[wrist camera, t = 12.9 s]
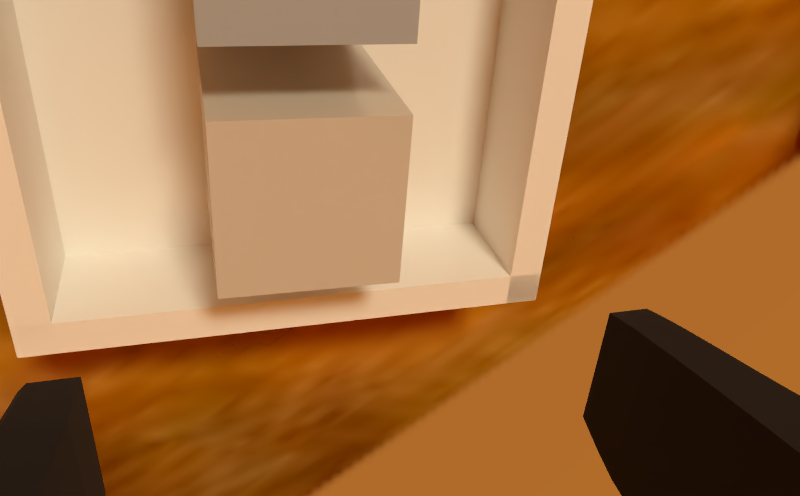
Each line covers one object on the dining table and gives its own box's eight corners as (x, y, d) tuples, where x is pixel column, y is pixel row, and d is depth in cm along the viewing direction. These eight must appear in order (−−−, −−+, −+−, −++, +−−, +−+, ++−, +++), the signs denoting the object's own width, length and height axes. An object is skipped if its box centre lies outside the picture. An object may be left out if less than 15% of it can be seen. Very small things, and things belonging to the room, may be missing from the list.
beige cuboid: (359, 41, 17) (413, 115, 13) (353, 183, 19) (399, 282, 15) (196, 42, 16) (205, 121, 12) (206, 191, 18) (217, 299, 14)
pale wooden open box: (557, -268, 15) (646, -279, 13) (486, 231, 22) (535, 300, 19) (-98, -334, 12) (-177, -368, 9) (40, 269, 19) (17, 358, 16)
